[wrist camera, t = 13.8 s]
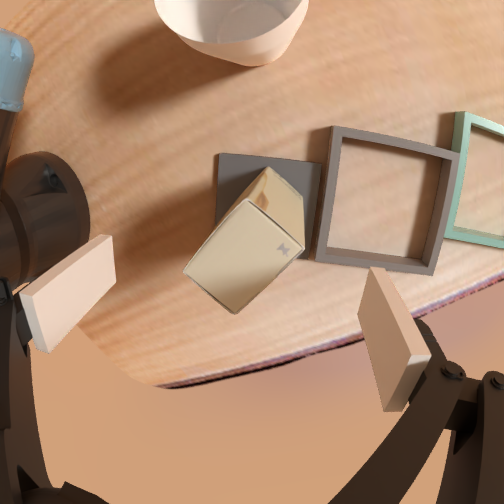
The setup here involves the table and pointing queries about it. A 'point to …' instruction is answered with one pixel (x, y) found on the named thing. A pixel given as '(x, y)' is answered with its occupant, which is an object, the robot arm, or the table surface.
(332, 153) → the grey frame
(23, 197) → the robot arm
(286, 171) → the slate mat
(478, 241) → the teal frame
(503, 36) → the table surface
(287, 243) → the skincare box
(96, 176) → the table surface
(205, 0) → the cup
